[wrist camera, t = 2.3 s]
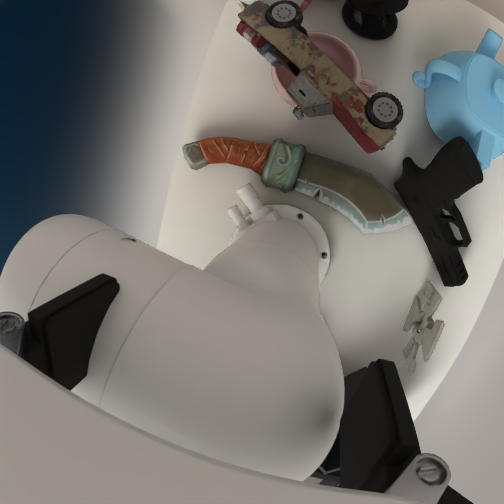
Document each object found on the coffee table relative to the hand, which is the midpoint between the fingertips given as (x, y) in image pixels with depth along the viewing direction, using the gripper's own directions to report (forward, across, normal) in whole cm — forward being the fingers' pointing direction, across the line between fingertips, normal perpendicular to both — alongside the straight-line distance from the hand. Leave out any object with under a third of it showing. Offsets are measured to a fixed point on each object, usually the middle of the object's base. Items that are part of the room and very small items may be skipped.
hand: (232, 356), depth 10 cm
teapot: (+30, -18, -22) cm, 41 cm away
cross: (+29, -19, +7) cm, 35 cm away
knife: (+28, -14, -4) cm, 32 cm away
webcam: (+30, -4, -30) cm, 42 cm away
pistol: (+18, -20, -9) cm, 28 cm away
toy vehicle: (+20, -1, -19) cm, 27 cm away
